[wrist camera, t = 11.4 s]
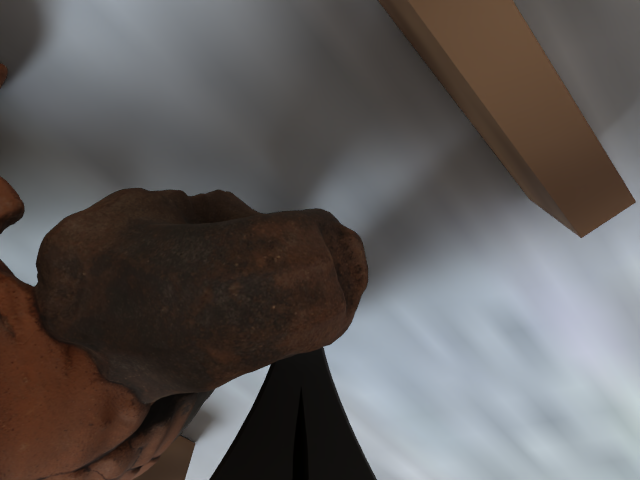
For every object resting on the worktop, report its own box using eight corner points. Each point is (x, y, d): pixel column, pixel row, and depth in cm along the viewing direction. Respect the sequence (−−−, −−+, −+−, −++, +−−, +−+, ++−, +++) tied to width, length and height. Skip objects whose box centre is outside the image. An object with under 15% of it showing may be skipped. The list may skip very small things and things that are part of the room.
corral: (571, 168, 10) (636, 202, 8) (177, 456, 15) (158, 516, 13) (41, -616, 5) (-154, -1088, 3) (-248, 245, 10) (-377, 292, 8)
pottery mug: (116, 402, 14) (-307, 651, 6) (51, 159, 14) (-461, 112, 6) (441, 373, 9) (334, 1145, 2) (347, 10, 9) (-204, -870, 2)
